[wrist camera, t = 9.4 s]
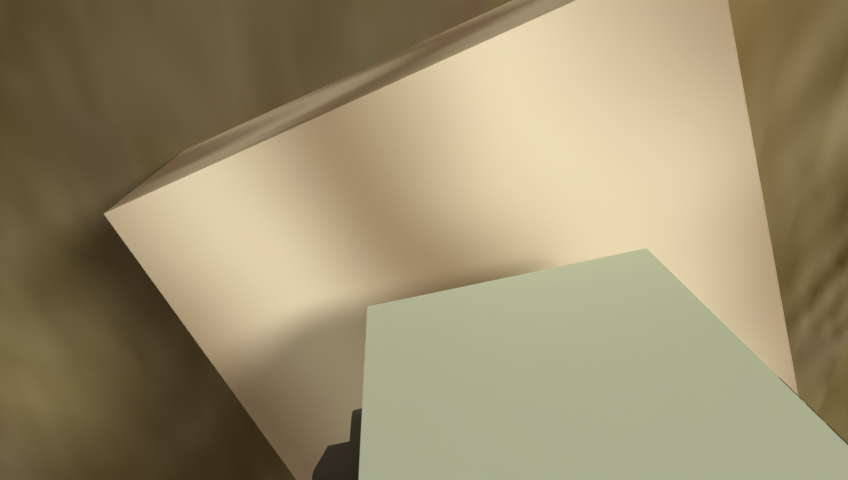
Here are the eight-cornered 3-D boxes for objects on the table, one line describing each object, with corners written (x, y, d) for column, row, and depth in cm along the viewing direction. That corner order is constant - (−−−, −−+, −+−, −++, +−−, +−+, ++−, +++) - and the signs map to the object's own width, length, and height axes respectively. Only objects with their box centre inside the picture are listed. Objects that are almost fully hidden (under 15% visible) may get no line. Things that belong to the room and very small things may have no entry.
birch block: (607, -46, 14) (716, -64, 9) (701, 325, 19) (804, 432, 14) (187, 147, 15) (103, 213, 11) (375, 450, 20) (373, 585, 15)
